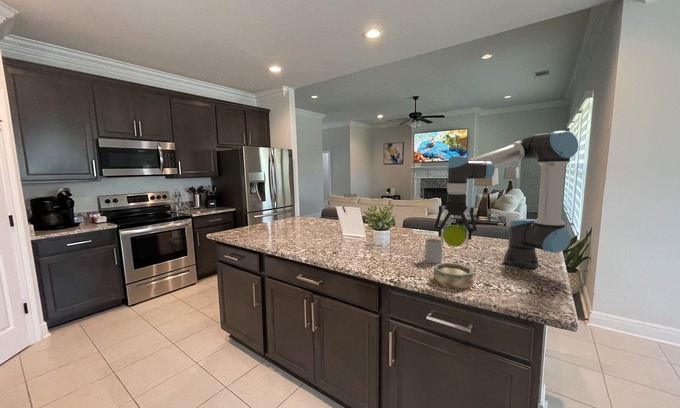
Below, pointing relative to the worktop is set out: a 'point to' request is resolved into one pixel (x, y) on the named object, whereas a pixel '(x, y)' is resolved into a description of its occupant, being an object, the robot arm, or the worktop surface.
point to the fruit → (454, 235)
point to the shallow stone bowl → (453, 275)
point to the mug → (433, 251)
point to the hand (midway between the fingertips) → (454, 245)
